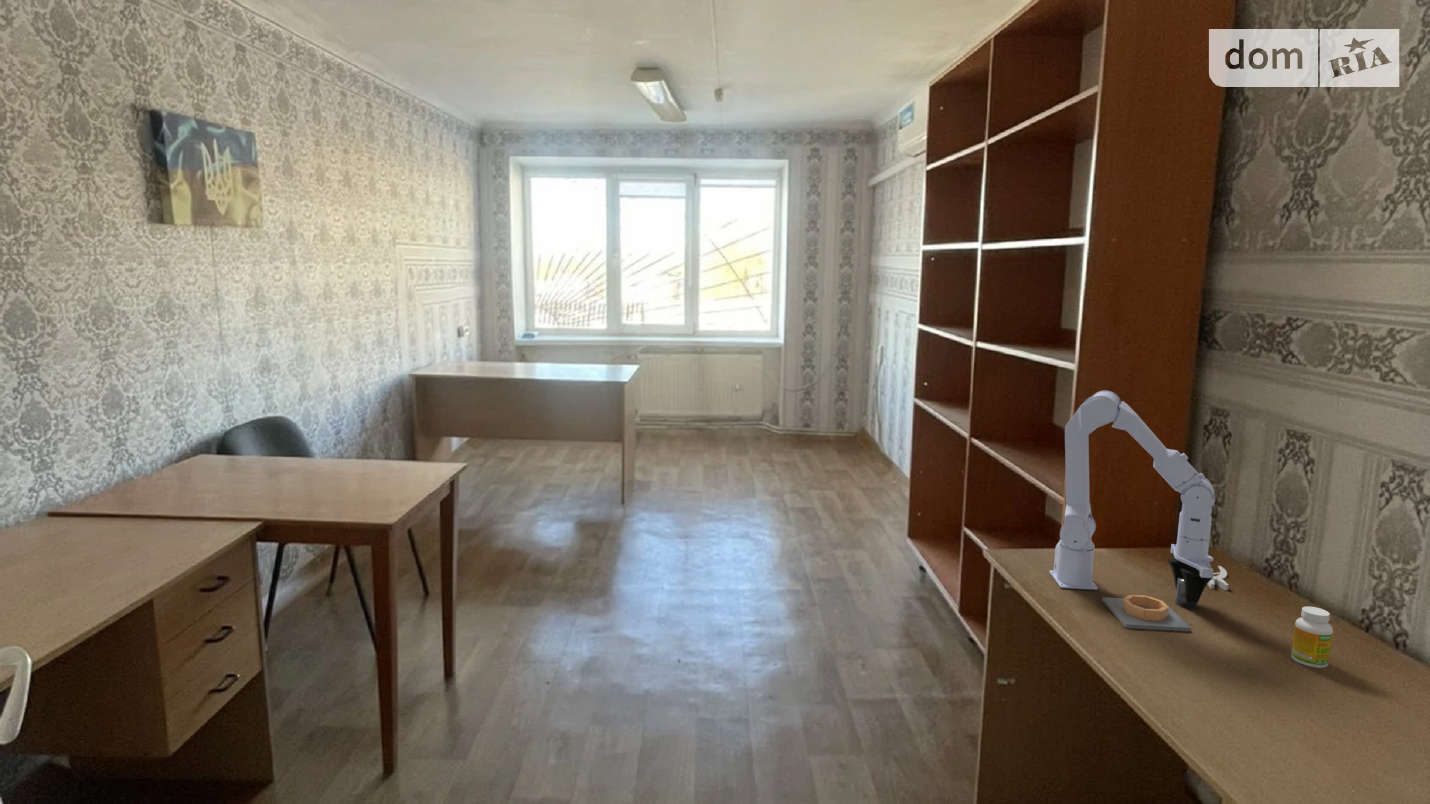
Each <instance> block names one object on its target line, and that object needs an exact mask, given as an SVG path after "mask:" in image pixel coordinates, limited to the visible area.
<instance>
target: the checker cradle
mask: <svg viewBox="0 0 1430 804" xmlns="http://www.w3.org/2000/svg"><path fill="white" fill-rule="evenodd" d="M1102 602H1103V603H1104V605H1105V606H1106V607H1107V608H1108V609H1109V610H1110V612H1112V614H1113V615H1114V616H1115V617H1116V618H1117V620H1118V622H1120V624H1121V625H1122V626H1123V627H1124V628H1125V629H1137V630H1138V629H1139V630H1154V631H1168V632H1169V631H1170V630H1171V631H1172V630H1173V631H1172V632H1189V633H1191V630H1192V629H1191V627H1190V626H1189V625H1188V624H1187V622H1185V621H1184V620H1183V619H1182V618H1181V617H1180V616H1179V615H1178V614H1177V613H1176V612H1175V611H1174V610H1173V609H1172V608H1171V607H1170V606H1169V605H1168V604H1167V603H1166V602H1164V600H1163V599H1158V598H1156V597H1152V596H1149V595H1142V594H1141V595H1139V594H1129V595H1127V596H1124V597H1120V598H1119V597H1106V596H1103V597H1102ZM1171 631H1170V632H1171Z"/></svg>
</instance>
